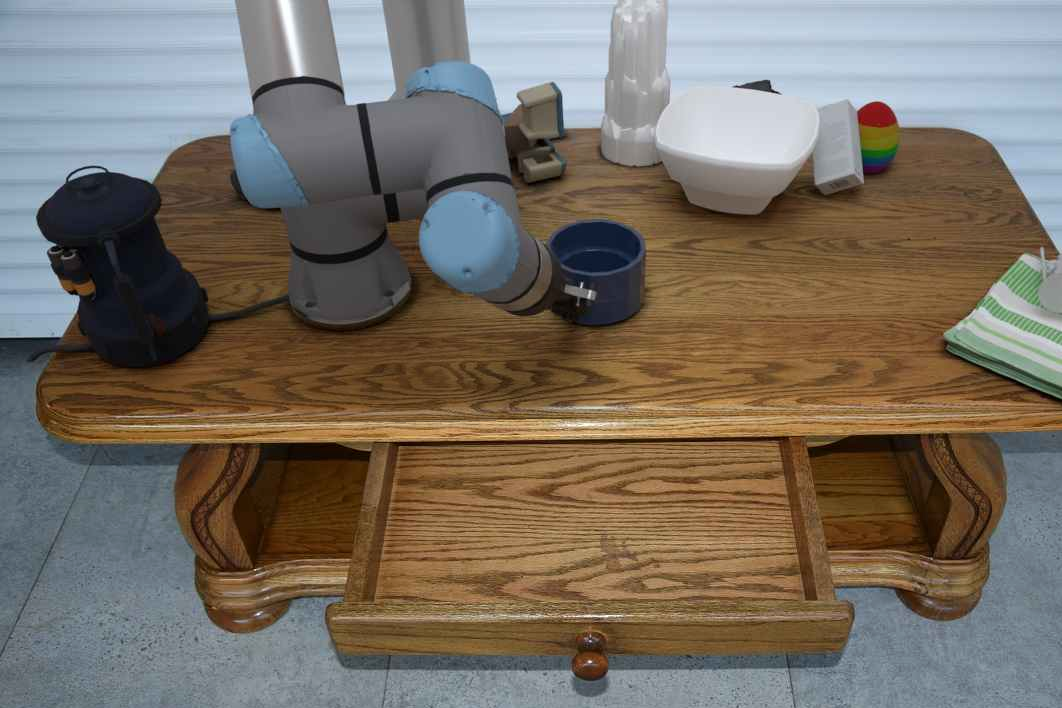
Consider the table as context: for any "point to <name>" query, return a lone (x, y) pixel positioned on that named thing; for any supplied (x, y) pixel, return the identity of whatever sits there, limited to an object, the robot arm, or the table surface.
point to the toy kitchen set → (540, 132)
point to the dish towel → (1014, 330)
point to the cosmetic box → (838, 149)
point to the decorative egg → (877, 136)
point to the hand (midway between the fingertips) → (573, 309)
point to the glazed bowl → (603, 265)
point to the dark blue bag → (122, 269)
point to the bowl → (735, 145)
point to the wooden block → (516, 132)
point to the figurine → (1051, 284)
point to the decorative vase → (635, 82)
